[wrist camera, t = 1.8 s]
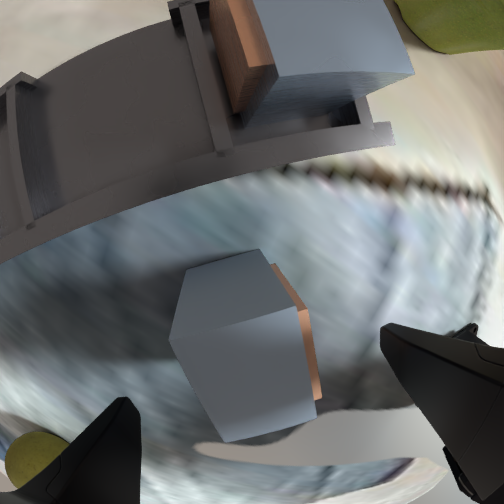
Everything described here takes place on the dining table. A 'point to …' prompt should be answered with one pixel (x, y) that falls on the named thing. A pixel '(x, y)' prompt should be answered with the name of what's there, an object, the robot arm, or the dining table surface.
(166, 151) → the rail
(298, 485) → the dining table surface
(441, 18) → the plant pot
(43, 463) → the apple
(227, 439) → the block
